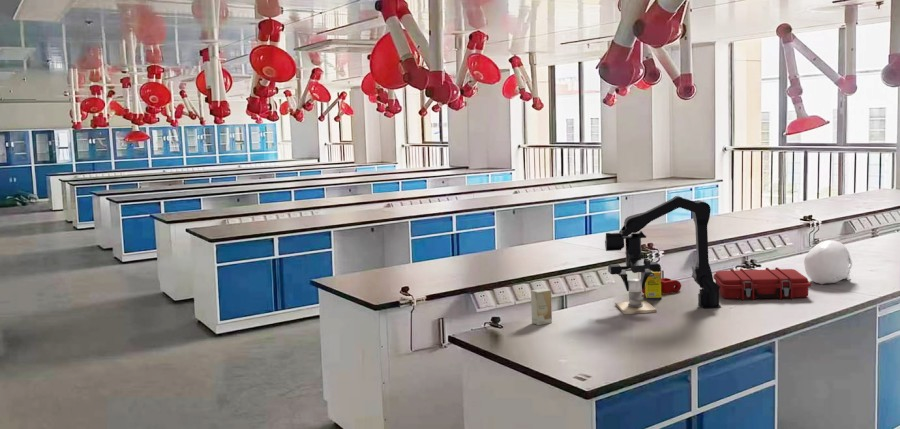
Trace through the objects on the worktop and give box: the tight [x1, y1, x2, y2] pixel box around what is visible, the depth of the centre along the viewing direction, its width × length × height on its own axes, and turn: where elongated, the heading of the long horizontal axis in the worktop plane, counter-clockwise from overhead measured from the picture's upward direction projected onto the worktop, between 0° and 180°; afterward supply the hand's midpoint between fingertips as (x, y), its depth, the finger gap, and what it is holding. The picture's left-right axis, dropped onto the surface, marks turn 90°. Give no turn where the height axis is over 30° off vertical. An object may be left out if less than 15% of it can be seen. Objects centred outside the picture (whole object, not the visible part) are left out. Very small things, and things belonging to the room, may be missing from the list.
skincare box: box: [530, 288, 553, 326], centre depth 266 cm, size 6×4×12 cm
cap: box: [627, 278, 642, 293], centre depth 277 cm, size 5×5×4 cm
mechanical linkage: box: [641, 277, 682, 295], centre depth 302 cm, size 16×7×5 cm, turn 111°
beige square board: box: [615, 291, 658, 315], centre depth 278 cm, size 12×14×7 cm
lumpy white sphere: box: [803, 239, 853, 285], centre depth 302 cm, size 16×20×22 cm
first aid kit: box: [712, 267, 812, 301], centre depth 289 cm, size 32×23×9 cm
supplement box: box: [644, 271, 662, 301], centre depth 293 cm, size 6×6×11 cm
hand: (634, 290), depth 278 cm, fingers closed on cap, 5 cm apart
